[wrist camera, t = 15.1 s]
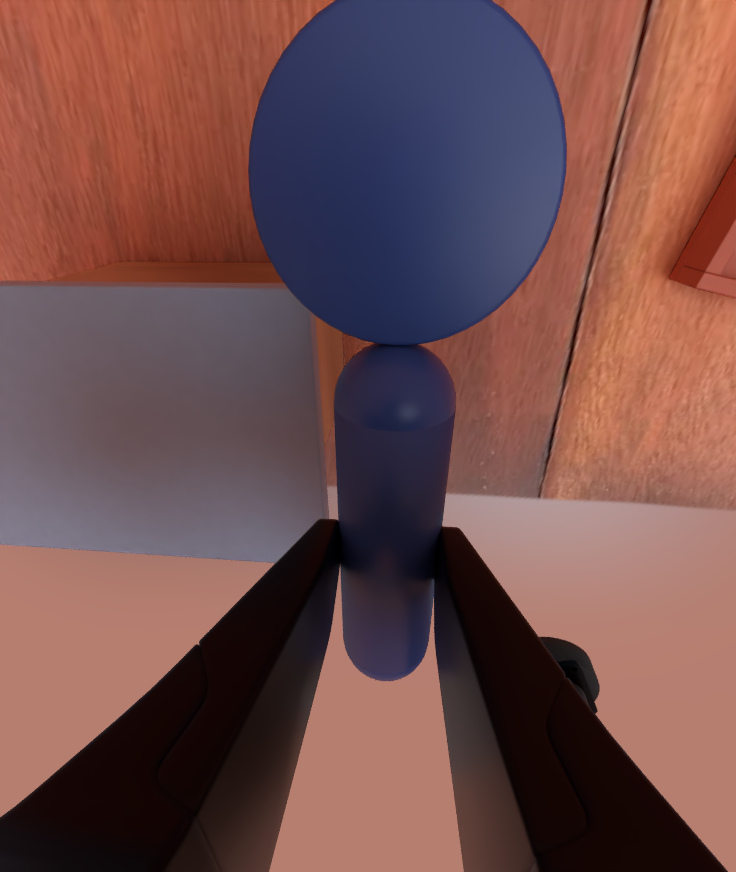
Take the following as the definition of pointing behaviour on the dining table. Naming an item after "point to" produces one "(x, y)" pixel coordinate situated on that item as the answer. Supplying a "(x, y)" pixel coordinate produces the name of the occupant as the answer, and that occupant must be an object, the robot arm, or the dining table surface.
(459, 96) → the blue spoon
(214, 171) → the dining table surface
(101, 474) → the blue pad
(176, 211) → the dining table surface
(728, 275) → the red tray
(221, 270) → the stand
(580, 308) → the dining table surface
